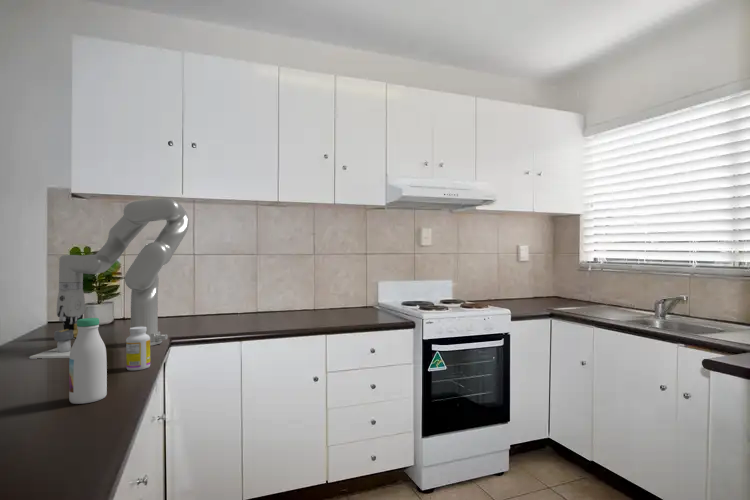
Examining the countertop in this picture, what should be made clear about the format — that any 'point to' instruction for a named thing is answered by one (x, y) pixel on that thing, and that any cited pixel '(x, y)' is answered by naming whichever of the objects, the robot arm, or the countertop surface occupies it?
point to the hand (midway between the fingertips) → (69, 334)
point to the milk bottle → (87, 364)
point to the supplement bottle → (138, 349)
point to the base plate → (56, 351)
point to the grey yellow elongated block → (65, 334)
